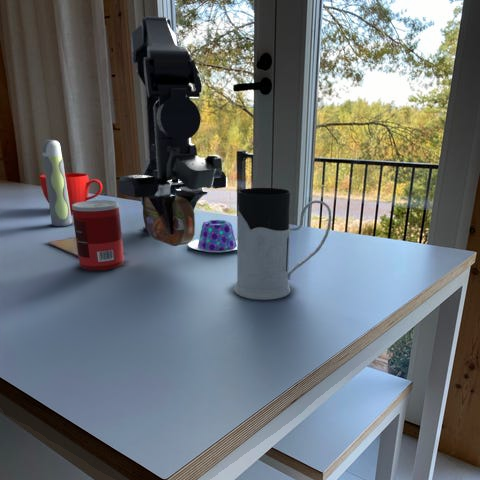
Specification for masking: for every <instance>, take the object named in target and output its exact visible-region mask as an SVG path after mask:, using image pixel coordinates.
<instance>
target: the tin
mask: <svg viewBox="0 0 480 480" xmlns="http://www.w3.org/2000/svg"><path fill="white" fill-rule="evenodd" d="M172 208H173V225H174V228H173V235H170V234H168V233H167V231H166V229H165V227H164V225H163V223H162V221H161V219H160V217H159V215H158V213H157V211H156V210H155V208H154V206H153V205H152V203H151V202H150V200H149V199H148V198H147V197H145V198H144V203H143V206H142V217H143V222H144V227H145V226H146V229H147V230H146V231H147V233H148V235H149V236H150V237H151V238H152V239H154V240H156V241H159V242H162V243H165V244H167V245H170V246H172V247H178V246H184V245H187V244H189V243H190V242H191V241H193V240H194V236H195V235H196V232H195V231H196V230H195V229H196V221H195V218H196V217H195V210H194V211H193V208H192V206H191V204H190V203H189V201H188V200H187V199H185V198H183V197H179V196H176V198H175V200H174V202H173V204H172Z"/></svg>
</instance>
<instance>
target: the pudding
mask: <svg viewBox="0 0 480 480" xmlns="http://www.w3.org/2000/svg"><path fill="white" fill-rule="evenodd" d="M232 224H233V223H232V222H230V221H228V220H221V219H211V220H210V219H209V220H206V221H204V222H203V223H202V225H201V229H200V233H199V238H197V239H193V240H191V242H189V243H188V247H189V248H191V249H193V250H197V251H201V252H206V253H228V252H232V251H236V250H237V238H236V236H235V233H234V232H235V231H234V227H233V225H232Z"/></svg>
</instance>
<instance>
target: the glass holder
mask: <svg viewBox="0 0 480 480" xmlns="http://www.w3.org/2000/svg"><path fill="white" fill-rule="evenodd" d="M291 193H292V191H291V190H289V189H285V188H277V187H250V188H243V189H240V190H238V206H236V209H237V210H236V213H237V215H236V216H237V217H236V219H237V220H236V221H237V223H236V227H237V228H236V229H237V231H236V232H237V233H236V234H237V235H236V239H237V251H236V255H237V256H236V258H237V259H236V265H237V266H236V269H237V271H236V278H237V279H236V284H235V286H234V288H233V289H234V290H233V291H234V293H235V294H236V295H238V296H240V297H243V298H247V299H249V300H258V301H259V300H262V301H265V300H266V301H267V300H277V299H281V298H284V297H286V296H288V295H289V294H290V293H291V287H290V285H289V281H290V280H291V275H292V274H293V273H294V272H295V271H296V270H297V269H298V268H300V267H301V266H302V265H304V264H306V263H307V262H308V261H309V260H310V259H311V258H312V257H314V256H315V255H316V254H317V253H318V252H319V251H320V250H321V248H322V247H323V245H324V244H325V242H326V240H327V238H328V236H329V233H330V230H331V223H332V210H331V208H330V206H329V205H328V204H327V203H326V202H325V201H322V200H317V199H315V200H311V201H309V202H308V203H306V204H305V205H304V206H303V207H302V210H301V212H300V219H299V225H297V226H296V227H291V226H290V218H291V217H290V215H291V195H292V194H291ZM313 204H321V205H323V206H324V207H326V209H327V211H328V221H327V225H326V226H327V227H326V230H325V233H324V235H323V238H322V239H321V241H320V243H319V244H318V246H317V247H316V248H315V250H313V251H312V252H311V253H310V254H309V255H308V256H306V257H305V258H304V259H303V260H301V261H300V262H299V263H297V264H296V265H295V266H293V268H291V269H290V270H289V264H290V245H291V244H290V243H291V242H290V241H291V231H292V232H293V231H298V230H300V229H301V228H302V227H303V223H304V216H305V213H306V211H307V209H308V208H309V207H310V206H311V205H313Z"/></svg>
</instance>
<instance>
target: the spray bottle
mask: <svg viewBox="0 0 480 480" xmlns="http://www.w3.org/2000/svg"><path fill="white" fill-rule="evenodd" d="M41 153H42V163H43V170H44V175H45V178H46V185H47V192H48V200H49V203H48V206H49V214H50V220H51V221H50V222H51V225H52V226H55V227H66V226H67V227H68V226H70V225H71V224H73V217H72V213H71V211H70V204H69V198H68V191H67V184H66V178H65V173H66V172H65V171H66V170H65V164H64V158H63V154H62V149H61V144H60V142H59V141H58V140H55V139H45V140H44V141H43V142H42V145H41Z"/></svg>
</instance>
